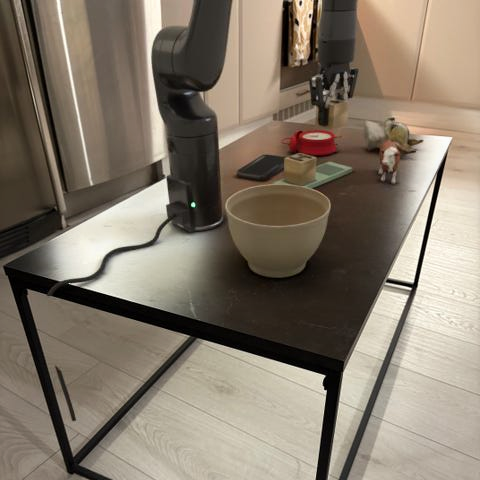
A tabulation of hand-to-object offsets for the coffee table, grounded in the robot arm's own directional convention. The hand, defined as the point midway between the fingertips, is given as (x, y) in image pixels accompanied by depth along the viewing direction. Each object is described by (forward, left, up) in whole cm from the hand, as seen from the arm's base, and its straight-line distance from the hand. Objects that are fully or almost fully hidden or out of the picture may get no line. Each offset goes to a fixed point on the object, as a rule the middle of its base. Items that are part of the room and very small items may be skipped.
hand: (331, 122), depth 112 cm
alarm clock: (+11, +15, -12) cm, 22 cm away
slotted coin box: (0, 0, -1) cm, 1 cm away
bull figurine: (+7, -12, -12) cm, 18 cm away
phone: (-8, +13, -12) cm, 19 cm away
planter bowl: (-40, -22, -12) cm, 47 cm away
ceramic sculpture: (+24, -1, -12) cm, 27 cm away
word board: (-5, 0, -12) cm, 13 cm away
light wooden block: (-10, 0, -10) cm, 14 cm away
